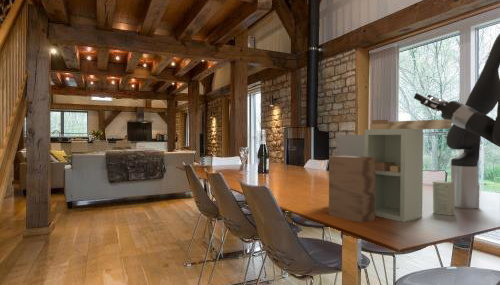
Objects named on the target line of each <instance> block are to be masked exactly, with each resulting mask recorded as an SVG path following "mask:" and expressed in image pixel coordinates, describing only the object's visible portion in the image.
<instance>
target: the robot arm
mask: <svg viewBox="0 0 500 285" xmlns="http://www.w3.org/2000/svg"><path fill="white" fill-rule="evenodd" d="M499 69H500V33H499V34H498V35H497V37H496V38H495V40H494V42H493V44H492V47H491V49H490V51H489V54H488V56H487V58H486V60H485V64H484V66H483V69H482V71H481V73H480V74H479V77H478V78H477V81H475V84H474V86H473V87H472V89H471V92H470V93H469V95H468V98H467V99H466V101H465V104H464V103H462V102H460V101H458V100H454V99H453V100H450V101H448V100H445V99H443V98H437V97H435V96H434V95H431V94H427V96H425V95H423V94H420V93H418V92H417V93H416V92H415V94H414V96H413V99H415V100H417V101H418V102H419V103H420V105H423V106H425V107H427V108H429V109H431V110H432V111H433V110H435V111H437V112H441V114H440V116H441V118H442V119H448V120H451V129H448V130H449V131H448V132H447V135H446V145H447V147H448V148H449V149H451V150H463V152H462V153H461V154H460V155H458V156H456V157H453V158H451V161H450V162H451V164H450V166H451V167H450V182H454V206H455V208H458V209H459V208H460V209H469V210H470V209H478V208H480V184H478V162H479V159H480V151H481V150H480V149H481V148H480V147H481V138H483V139H485V140H486V141H488V142H490V143H492V144H494V146H496V147H498V148H500V74H499V73H500V72H499ZM426 101H427V102H426ZM496 106H497V109H496V117H495V119H494V118H492V117H490V116H488V114H489V113H491V112H492V111H494V109H495V107H496Z"/></svg>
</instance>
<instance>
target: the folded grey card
mask: <svg viewBox="0 0 500 285" xmlns="http://www.w3.org/2000/svg"><path fill="white" fill-rule="evenodd" d="M364 149H365V134H339V135H338V134H337V135H336V156H343V155H344V156H361V157H364Z"/></svg>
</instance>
